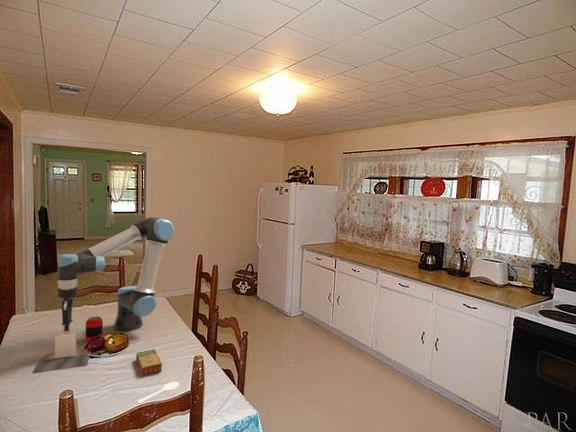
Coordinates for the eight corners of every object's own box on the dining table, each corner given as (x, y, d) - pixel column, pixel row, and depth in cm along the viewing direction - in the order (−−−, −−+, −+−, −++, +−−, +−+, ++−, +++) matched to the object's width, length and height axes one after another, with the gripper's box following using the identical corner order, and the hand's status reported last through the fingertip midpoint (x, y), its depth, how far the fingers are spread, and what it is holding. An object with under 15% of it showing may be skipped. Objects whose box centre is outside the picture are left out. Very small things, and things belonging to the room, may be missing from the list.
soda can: (104, 341, 176) (104, 318, 176) (88, 345, 171) (88, 322, 170) (99, 336, 182) (99, 314, 181) (83, 340, 176) (83, 318, 175)
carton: (141, 377, 146) (141, 367, 146) (135, 360, 159) (135, 352, 159) (161, 372, 150) (162, 363, 150) (154, 356, 164) (154, 348, 164)
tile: (76, 353, 160) (76, 332, 159) (75, 355, 158) (75, 334, 158) (55, 356, 157) (55, 334, 156) (54, 358, 155) (55, 336, 154)
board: (91, 350, 166) (91, 348, 166) (87, 368, 150) (87, 365, 150) (42, 356, 158) (42, 354, 158) (31, 376, 142) (31, 373, 142)
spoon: (134, 400, 130) (134, 399, 130) (174, 380, 144) (174, 379, 144) (141, 406, 126) (141, 404, 126) (182, 385, 141) (182, 384, 141)
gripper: (60, 284, 164) (60, 332, 165) (55, 292, 152) (54, 343, 153) (79, 283, 167) (78, 330, 168) (74, 290, 155) (73, 341, 156)
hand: (66, 336), depth 161 cm, fingers closed
